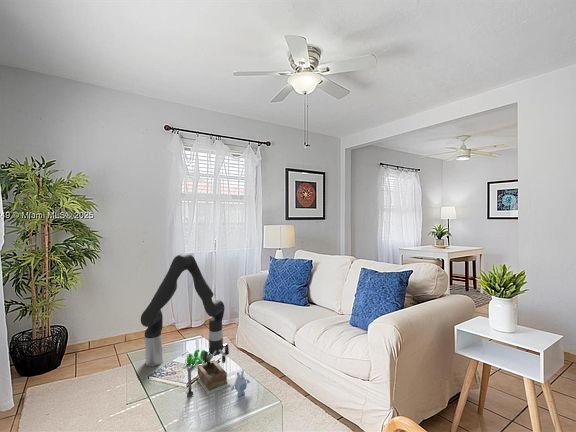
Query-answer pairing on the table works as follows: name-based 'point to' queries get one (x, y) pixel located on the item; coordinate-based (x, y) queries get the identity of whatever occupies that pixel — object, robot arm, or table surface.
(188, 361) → the green lumpy cluster
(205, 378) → the brown wooden open box
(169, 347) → the table surface
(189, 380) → the post stand
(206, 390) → the mat
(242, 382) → the toy figure
